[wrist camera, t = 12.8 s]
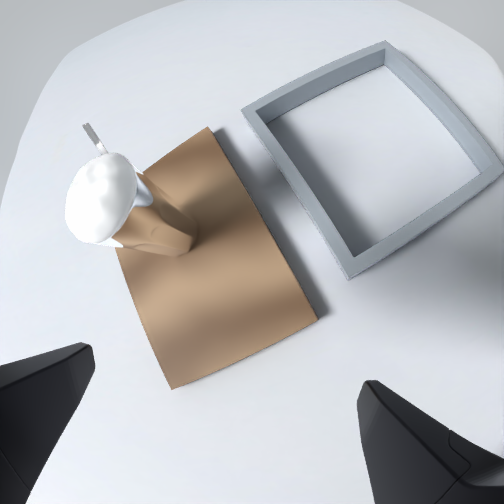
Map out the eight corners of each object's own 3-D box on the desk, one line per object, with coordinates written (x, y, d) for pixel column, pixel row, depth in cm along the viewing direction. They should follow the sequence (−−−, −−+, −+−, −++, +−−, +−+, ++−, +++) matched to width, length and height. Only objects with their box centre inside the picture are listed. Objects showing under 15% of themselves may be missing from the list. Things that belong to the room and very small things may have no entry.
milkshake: (210, 188, 20) (120, 110, 11) (205, 266, 19) (94, 230, 10) (156, 195, 22) (58, 135, 12) (149, 266, 21) (34, 237, 11)
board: (318, 319, 18) (317, 320, 17) (178, 387, 20) (171, 390, 19) (212, 132, 22) (207, 126, 21) (110, 207, 24) (102, 204, 23)
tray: (494, 180, 16) (505, 169, 14) (347, 280, 18) (348, 277, 16) (384, 56, 19) (385, 40, 18) (248, 124, 22) (240, 109, 20)
